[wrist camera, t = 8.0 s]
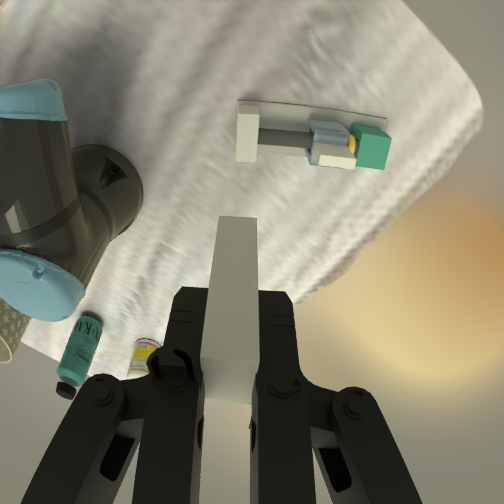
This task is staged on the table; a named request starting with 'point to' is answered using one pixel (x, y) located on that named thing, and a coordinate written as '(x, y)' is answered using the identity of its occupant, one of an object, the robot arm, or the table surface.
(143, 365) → the supplement bottle
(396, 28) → the table surface
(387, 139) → the slider rail
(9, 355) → the planter
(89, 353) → the beverage bottle
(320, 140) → the pale blue hollow box
